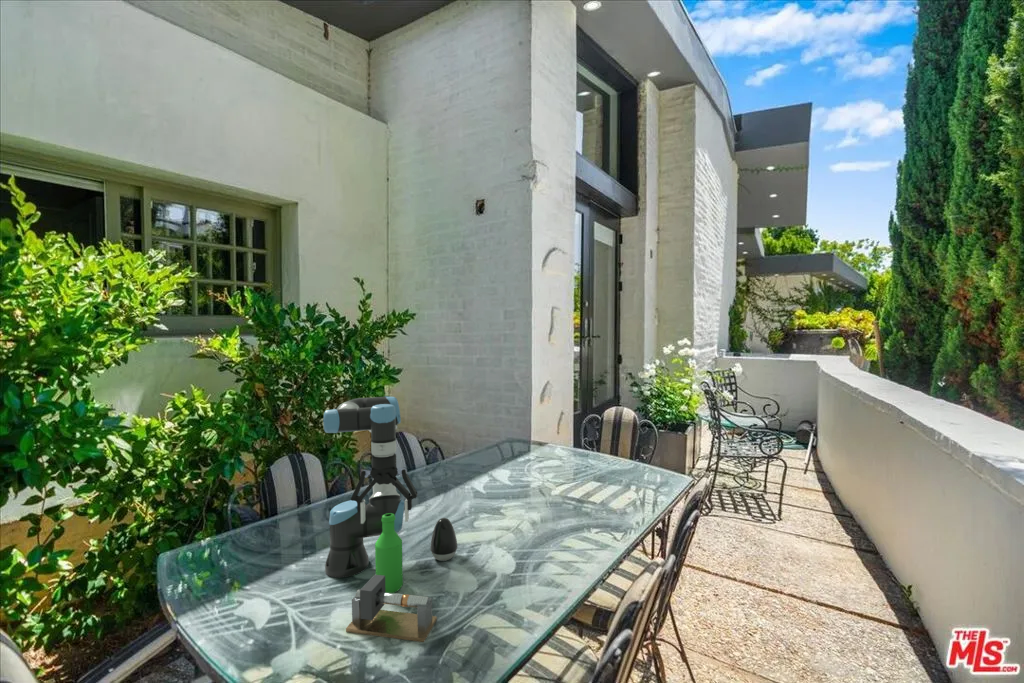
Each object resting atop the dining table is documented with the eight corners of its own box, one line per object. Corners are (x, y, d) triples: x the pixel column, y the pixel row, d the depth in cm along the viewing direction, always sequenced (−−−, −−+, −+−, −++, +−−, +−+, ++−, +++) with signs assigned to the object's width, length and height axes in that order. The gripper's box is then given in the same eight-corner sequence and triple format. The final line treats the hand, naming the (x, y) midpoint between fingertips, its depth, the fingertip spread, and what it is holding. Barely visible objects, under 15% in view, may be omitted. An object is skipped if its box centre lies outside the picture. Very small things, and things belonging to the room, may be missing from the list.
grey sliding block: (360, 618, 130) (359, 589, 130) (374, 601, 138) (374, 574, 138) (371, 620, 129) (371, 591, 129) (385, 602, 138) (385, 575, 138)
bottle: (405, 580, 157) (404, 509, 156) (399, 595, 148) (398, 519, 148) (379, 581, 157) (378, 510, 156) (372, 596, 148) (371, 520, 148)
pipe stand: (345, 631, 130) (345, 599, 130) (364, 610, 140) (363, 580, 140) (423, 642, 125) (423, 608, 125) (436, 619, 135) (436, 588, 135)
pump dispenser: (432, 566, 166) (431, 525, 166) (429, 553, 176) (428, 514, 176) (459, 562, 169) (458, 522, 169) (455, 549, 179) (454, 511, 179)
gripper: (339, 458, 137) (341, 527, 138) (422, 456, 139) (423, 524, 139) (346, 452, 145) (348, 517, 145) (425, 449, 147) (426, 514, 147)
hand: (385, 521), depth 142 cm, fingers open, 13 cm apart
